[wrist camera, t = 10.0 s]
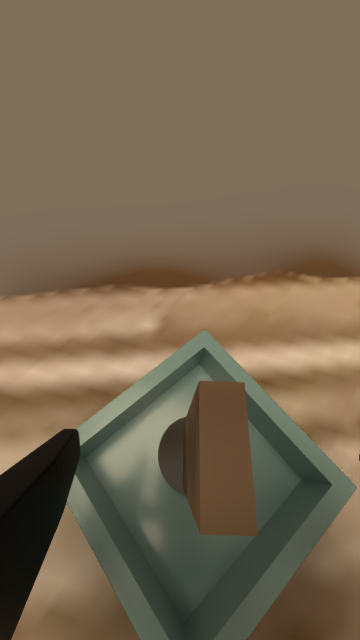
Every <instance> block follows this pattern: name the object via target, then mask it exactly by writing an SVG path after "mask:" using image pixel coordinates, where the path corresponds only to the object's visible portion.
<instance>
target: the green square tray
mask: <svg viewBox="0 0 360 640" xmlns="http://www.w3.org/2000/svg"><path fill="white" fill-rule="evenodd" d="M199 381H222V382H245V392H246V404H247V415H248V426H249V438H250V449H251V460H252V471H253V483H254V494H255V505H256V517H257V528H258V536H231V535H200V532H199V530H198V527H197V525H196V522H195V519H194V517H193V514H192V511H191V509H190V506H189V503H188V501H187V498H186V496H185V495H182V494H180V493H178V492H177V491H175V490H174V489H173V488H171V487H170V486H169V484H168V483H167V482H166V481H165V479H164V477H163V475H162V473H161V470H160V467H159V463H158V448H159V444H160V441H161V438H162V436H163V434H164V432H165V431H166V429H167V428H168V427H169V426H170V425H171V424H172V423H173V422H175V421H176V420H178V419H180V418H183V417H186V415H187V413H188V410H189V407H190V404H191V402H192V399H193V396H194V393H195V391H196V388H197V385H198V382H199ZM76 429H77V430H78V431H79V438H80V448H81V454H80V459H79V462H78V466H77V469H76V472H75V476H74V479H73V482H72V485H71V489H70V492H69V495H68V499H67V503H68V505H69V507H70V509H71V511H72V513H73V514H74V516H75V518H76V520H77V522H78V524H79V526H80V528H81V529H82V531H83V533H84V535H85V537H86V539H87V541H88V543H89V544H90V546H91V548H92V550H93V552H94V554H95V556H96V557H97V559H98V561H99V563H100V565H101V567H102V569H103V571H104V572H105V574H106V576H107V578H108V580H109V582H110V584H111V586H112V587H113V589H114V591H115V593H116V595H117V597H118V599H119V600H120V602H121V604H122V606H123V608H124V610H125V612H126V614H127V615H128V617H129V619H130V621H131V623H132V625H133V627H134V629H135V630H136V632H137V634H138V636H139V638H140V640H247V638H248V637H249V636H250V634H251V633H252V631H253V630H254V629H255V627H256V626H257V625H258V623H259V622H260V620H261V619H262V618H263V616H264V615H265V614H266V612H267V611H268V609H269V608H270V607H271V605H272V604H273V603H274V601H275V600H276V598H277V597H278V596H279V594H280V593H281V592H282V590H283V589H284V587H285V586H286V585H287V583H288V582H289V581H290V579H291V578H292V576H293V575H294V574H295V572H296V571H297V570H298V568H299V567H300V565H301V564H302V563H303V561H304V560H305V559H306V557H307V556H308V554H309V553H310V552H311V550H312V549H313V548H314V546H315V545H316V543H317V542H318V541H319V539H320V538H321V537H322V535H323V534H324V532H325V531H326V530H327V528H328V527H329V526H330V524H331V523H332V521H333V520H334V519H335V517H336V516H337V515H338V513H339V512H340V510H341V509H342V508H343V506H344V505H345V503H346V502H347V501H348V499H349V498H350V497H351V495H352V494H353V492H354V491H355V490H356V488H357V487H356V486H355V485H354V484H353V483H352V482H351V480H350V479H349V478H348V477H347V476H346V475H345V474H344V473H343V472H342V471H341V470H340V469H339V468H338V467H337V466H336V465H335V464H334V463H333V462H332V461H331V460H330V459H329V458H328V457H327V456H326V454H325V453H324V452H323V451H322V450H321V449H320V448H319V447H318V446H317V445H316V444H315V443H314V442H313V441H312V440H311V439H310V438H309V437H308V436H307V435H306V434H305V433H304V432H303V431H302V429H301V428H300V427H299V426H298V425H297V424H296V423H295V422H294V421H293V420H292V419H291V418H290V417H289V416H288V415H287V414H286V413H285V412H284V411H283V410H282V409H281V408H280V407H279V406H278V405H277V403H276V402H275V401H274V400H273V399H272V398H271V397H270V396H269V395H268V394H267V393H266V392H265V391H264V390H263V389H262V388H261V387H260V386H259V385H258V384H257V383H256V382H255V381H254V380H253V379H252V377H251V376H250V375H249V374H248V373H247V372H246V371H245V370H244V369H243V368H242V367H241V366H240V365H239V364H238V363H237V362H236V361H235V360H234V359H233V358H232V357H231V356H230V355H229V354H228V352H227V351H226V350H225V349H224V348H223V347H222V346H221V345H220V344H219V343H218V342H217V341H216V340H215V339H214V338H213V337H212V336H211V335H210V334H209V333H208V332H207V331H206V330H203V331H202V332H201V333H200V334H198V335H197V336H196V337H194V338H193V339H192V340H191V341H189V342H188V343H187V344H185V345H184V346H183V347H181V348H180V349H179V350H178V351H176V352H175V353H174V354H172V355H171V356H170V357H168V358H167V359H166V360H165V361H163V362H162V363H161V364H159V365H158V366H157V367H156V368H154V369H153V370H152V371H150V372H149V373H148V374H146V375H145V376H144V377H143V378H141V379H140V380H139V381H137V382H136V383H135V384H133V385H132V386H131V387H130V388H128V389H127V390H126V391H124V392H123V393H122V394H121V395H119V396H118V397H117V398H115V399H114V400H113V401H111V402H110V403H109V404H108V405H106V406H105V407H104V408H102V409H101V410H100V411H98V412H97V413H96V414H95V415H93V416H92V417H91V418H89V419H88V420H87V421H86V422H84V423H83V424H82V425H80V426H79V427H78V428H76Z"/></svg>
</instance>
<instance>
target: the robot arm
mask: <svg viewBox="0 0 360 640" xmlns="http://www.w3.org/2000/svg"><path fill="white" fill-rule="evenodd" d="M80 454H81V448H80V438H79V431H78V430H77V429H63V430H62V431H60V432H59V433H58V434H56V435H55V436H53V437H52V438H51V439H49V440H48V441H47V442H45V443H44V444H42V445H41V446H40V447H38V448H37V449H36V450H34V451H33V452H31V453H30V454H29V455H27V456H26V457H25V458H23V459H22V460H20V461H19V462H18V463H16V464H15V465H14V466H12V467H11V468H9V469H8V470H7V471H5V472H4V473H3V474H1V475H0V640H11V638H12V636H13V634H14V631H15V629H16V626H17V624H18V621H19V619H20V617H21V614H22V612H23V609H24V607H25V604H26V602H27V600H28V597H29V595H30V592H31V590H32V587H33V585H34V583H35V580H36V578H37V575H38V573H39V570H40V568H41V566H42V563H43V561H44V558H45V556H46V553H47V551H48V549H49V546H50V544H51V541H52V539H53V536H54V534H55V532H56V529H57V527H58V524H59V522H60V519H61V517H62V514H63V511H64V508H65V505H66V502H67V499H68V495H69V492H70V489H71V485H72V482H73V479H74V476H75V472H76V469H77V466H78V462H79V459H80ZM359 460H360V455H359Z"/></svg>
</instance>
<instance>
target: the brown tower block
mask: <svg viewBox="0 0 360 640" xmlns="http://www.w3.org/2000/svg"><path fill="white" fill-rule="evenodd" d="M158 463H159V467H160V470H161V473H162V475H163V477H164V479H165V481H166V482H167V483H168V484H169V486H170V487H171V488H173V489H174V490H175V491H177V492H178V493H180V494H182V495H185V496H186V498H187V501H188V503H189V506H190V509H191V511H192V514H193V517H194V519H195V522H196V525H197V527H198V530H199V532H200V535H231V536H258V528H257V517H256V505H255V494H254V483H253V471H252V460H251V449H250V438H249V426H248V415H247V404H246V392H245V382H222V381H199V382H198V385H197V388H196V391H195V393H194V396H193V399H192V402H191V404H190V407H189V410H188V413H187V415H186V417H183V418H180V419H178V420H176V421H175V422H173V423H172V424H171V425H170V426H169V427H168V428H167V429H166V431H165V432H164V434H163V436H162V438H161V441H160V444H159V448H158Z"/></svg>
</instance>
